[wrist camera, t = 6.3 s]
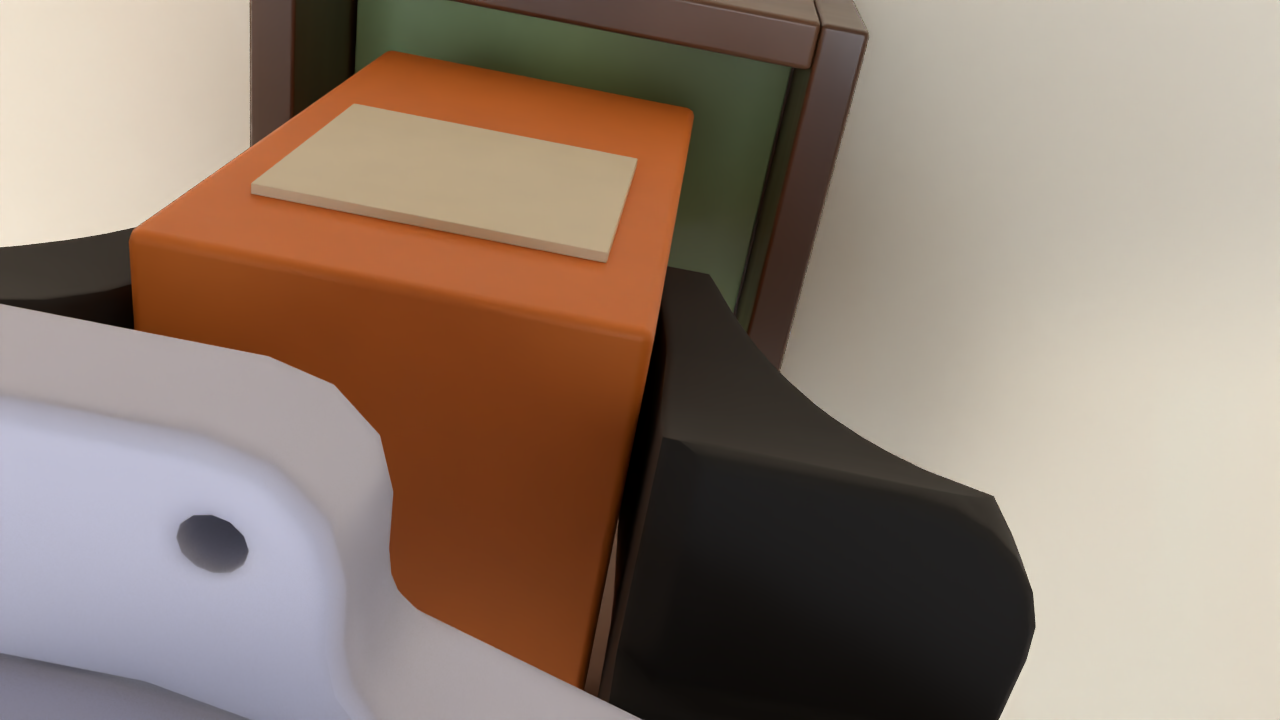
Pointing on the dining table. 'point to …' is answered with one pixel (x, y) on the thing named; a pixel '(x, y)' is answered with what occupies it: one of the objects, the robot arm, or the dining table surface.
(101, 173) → the dining table surface
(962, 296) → the dining table surface
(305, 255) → the orange block
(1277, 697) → the dining table surface
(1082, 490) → the dining table surface
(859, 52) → the organizer
